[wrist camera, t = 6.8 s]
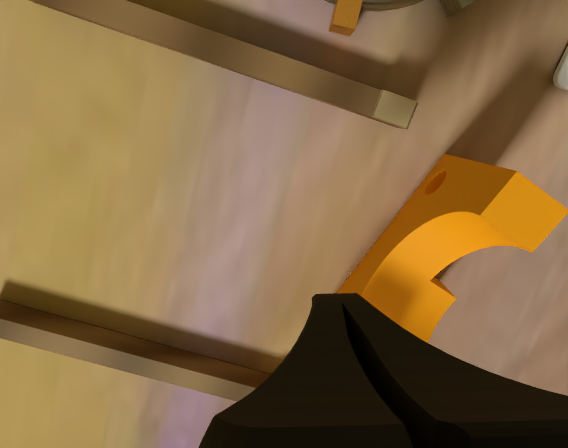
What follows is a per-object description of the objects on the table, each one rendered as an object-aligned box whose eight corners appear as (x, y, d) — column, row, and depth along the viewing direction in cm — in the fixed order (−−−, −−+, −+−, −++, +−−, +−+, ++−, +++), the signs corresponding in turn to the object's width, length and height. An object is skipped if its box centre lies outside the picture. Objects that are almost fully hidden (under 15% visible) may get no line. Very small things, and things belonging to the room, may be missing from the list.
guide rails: (407, 104, 19) (421, 102, 17) (291, 397, 23) (291, 421, 22) (39, -26, 17) (9, -43, 15) (-5, 317, 22) (-31, 335, 20)
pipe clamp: (368, 360, 23) (400, 451, 17) (310, 325, 22) (320, 406, 16) (505, 199, 20) (603, 236, 14) (442, 153, 20) (516, 171, 13)
